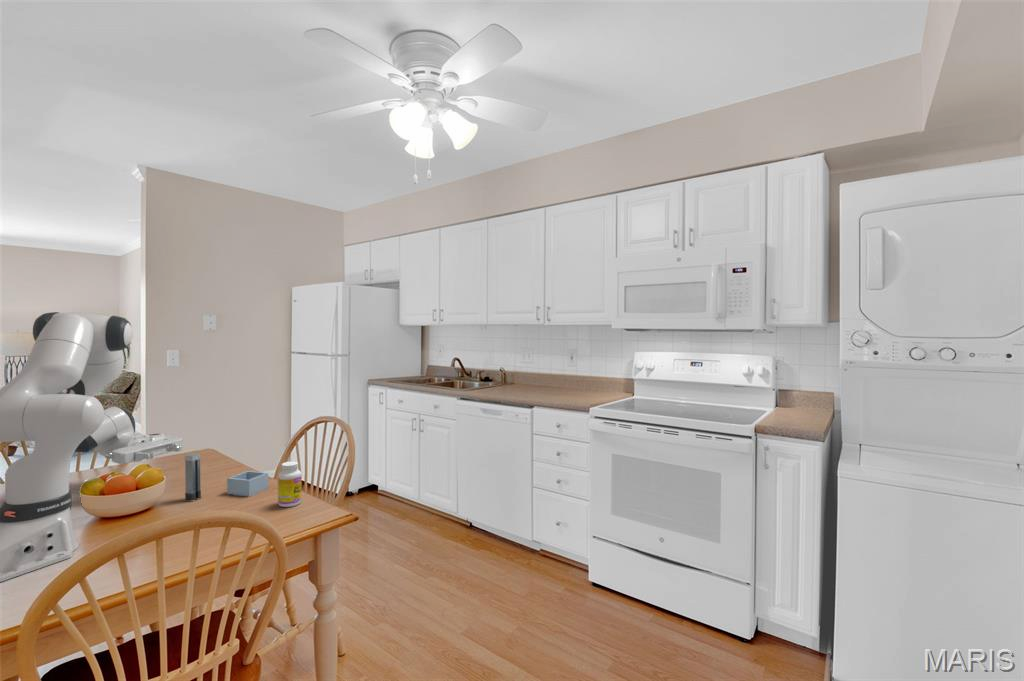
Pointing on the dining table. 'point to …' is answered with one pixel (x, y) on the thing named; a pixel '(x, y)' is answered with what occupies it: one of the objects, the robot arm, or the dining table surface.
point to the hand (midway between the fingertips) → (165, 452)
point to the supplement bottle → (289, 485)
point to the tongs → (192, 476)
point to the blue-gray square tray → (247, 483)
